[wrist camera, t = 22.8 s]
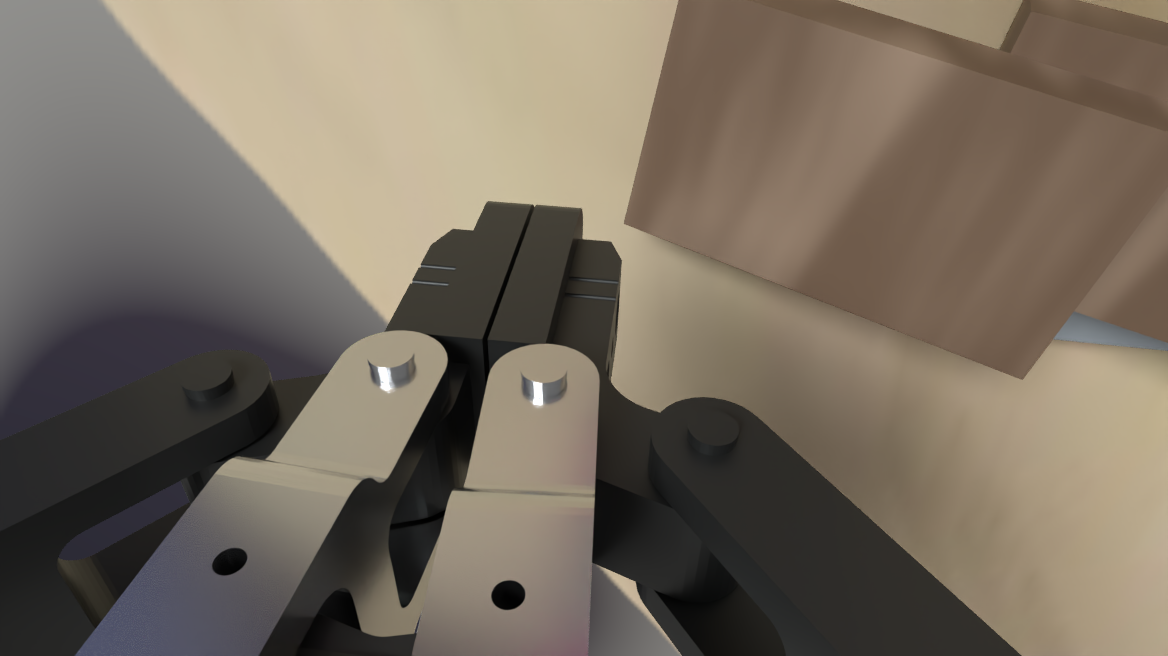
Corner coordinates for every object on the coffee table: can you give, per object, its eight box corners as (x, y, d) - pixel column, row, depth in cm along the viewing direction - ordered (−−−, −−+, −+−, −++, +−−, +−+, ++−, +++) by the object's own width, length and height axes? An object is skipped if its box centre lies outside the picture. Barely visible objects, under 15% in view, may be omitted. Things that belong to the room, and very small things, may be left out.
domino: (711, -39, 17) (1182, 105, 15) (650, 191, 21) (1020, 332, 19) (683, -20, 16) (1201, 142, 14) (623, 223, 20) (1022, 379, 18)
